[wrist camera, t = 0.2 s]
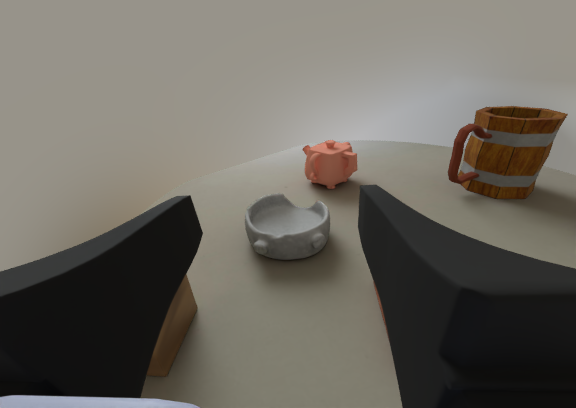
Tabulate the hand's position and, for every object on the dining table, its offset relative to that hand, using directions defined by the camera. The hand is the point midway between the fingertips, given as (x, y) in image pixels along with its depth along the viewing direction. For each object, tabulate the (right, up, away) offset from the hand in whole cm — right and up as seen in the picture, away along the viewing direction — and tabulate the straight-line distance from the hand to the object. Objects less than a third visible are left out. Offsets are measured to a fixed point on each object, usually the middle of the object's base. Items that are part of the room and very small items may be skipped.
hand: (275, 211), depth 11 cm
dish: (+1, -5, +33) cm, 33 cm away
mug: (+42, +4, +45) cm, 61 cm away
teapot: (+10, +6, +52) cm, 53 cm away
